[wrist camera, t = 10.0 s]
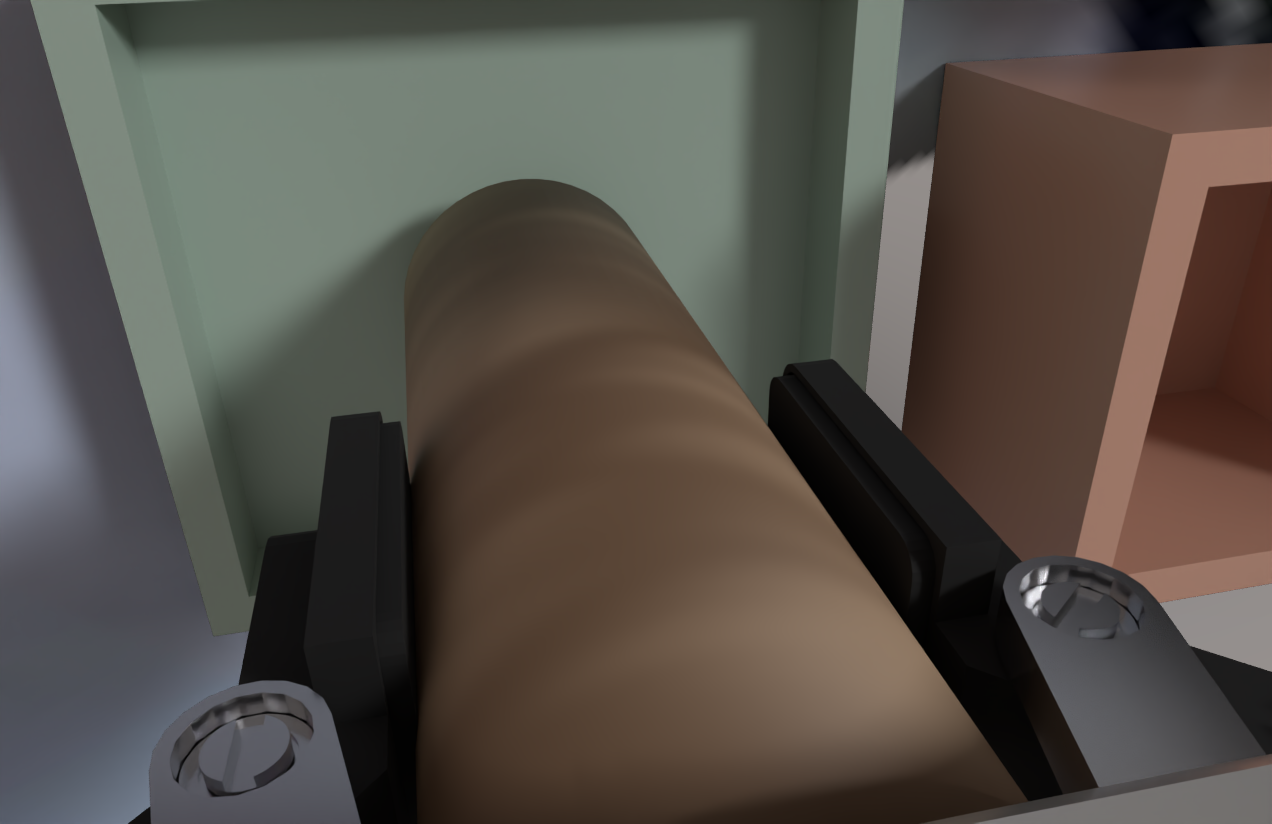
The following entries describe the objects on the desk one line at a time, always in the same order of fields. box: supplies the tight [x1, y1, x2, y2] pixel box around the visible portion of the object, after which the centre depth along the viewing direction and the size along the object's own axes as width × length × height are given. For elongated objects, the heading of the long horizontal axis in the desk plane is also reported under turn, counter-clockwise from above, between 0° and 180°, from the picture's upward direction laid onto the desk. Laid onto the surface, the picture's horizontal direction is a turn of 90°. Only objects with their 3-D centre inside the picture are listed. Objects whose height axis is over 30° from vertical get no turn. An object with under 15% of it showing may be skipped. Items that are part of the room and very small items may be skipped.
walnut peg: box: [404, 179, 1029, 824], centre depth 12 cm, size 4×4×13 cm
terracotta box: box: [902, 43, 1272, 603], centre depth 19 cm, size 9×9×6 cm
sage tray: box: [30, 0, 904, 636], centre depth 18 cm, size 13×12×2 cm
